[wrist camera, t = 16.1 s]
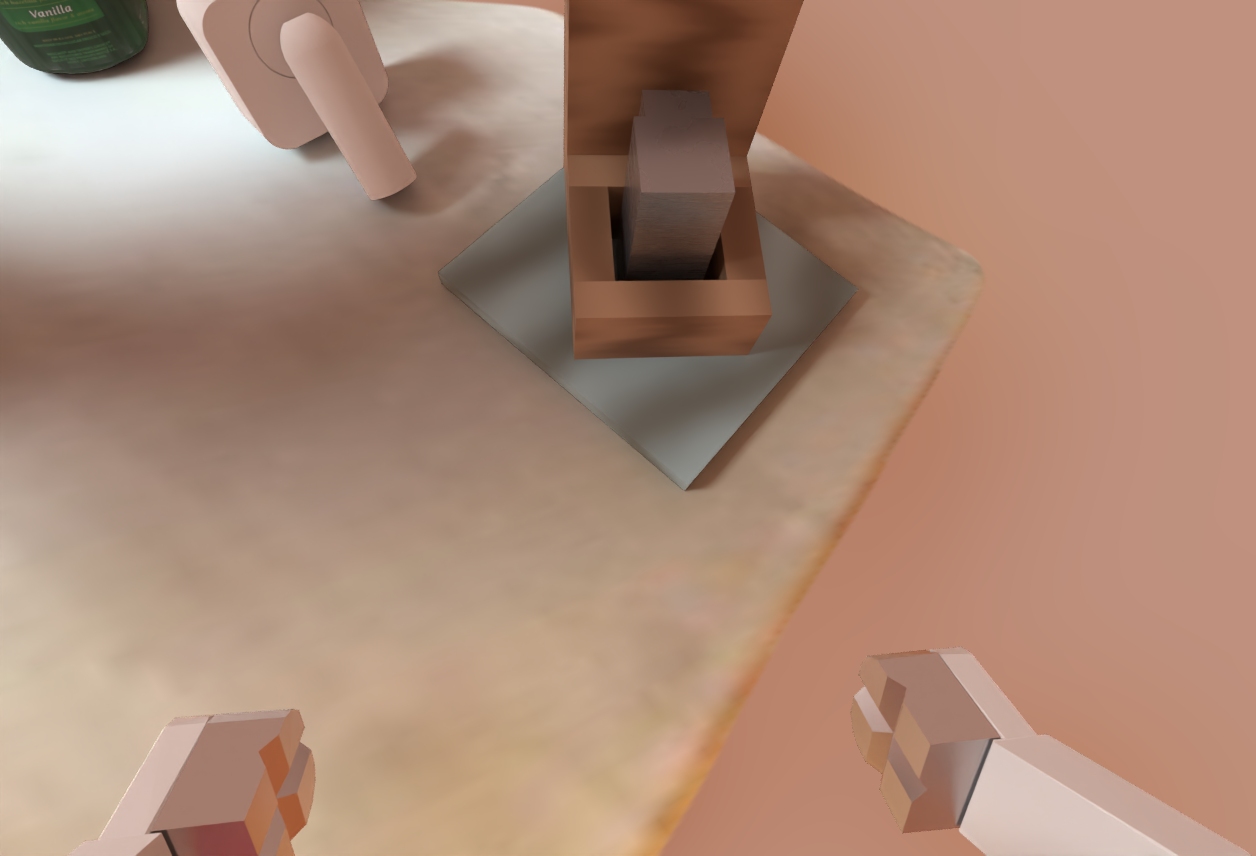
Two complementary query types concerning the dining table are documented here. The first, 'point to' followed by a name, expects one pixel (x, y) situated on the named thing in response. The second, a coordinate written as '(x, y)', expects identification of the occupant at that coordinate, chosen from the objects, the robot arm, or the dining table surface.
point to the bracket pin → (673, 188)
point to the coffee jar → (73, 32)
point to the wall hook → (305, 78)
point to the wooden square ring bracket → (588, 230)
